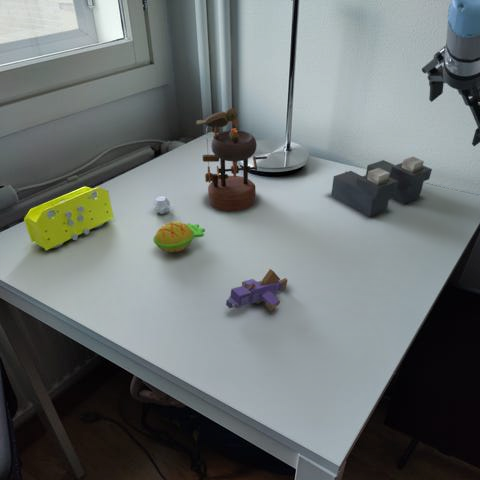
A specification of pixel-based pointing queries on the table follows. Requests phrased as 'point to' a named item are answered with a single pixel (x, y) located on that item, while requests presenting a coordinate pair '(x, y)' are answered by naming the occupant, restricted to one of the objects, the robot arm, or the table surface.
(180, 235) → the toy pineapple
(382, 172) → the high key
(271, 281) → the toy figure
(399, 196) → the low key block
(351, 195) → the high key block
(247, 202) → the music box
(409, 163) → the low key
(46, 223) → the yellow toy chassis
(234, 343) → the table surface
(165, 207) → the game die
